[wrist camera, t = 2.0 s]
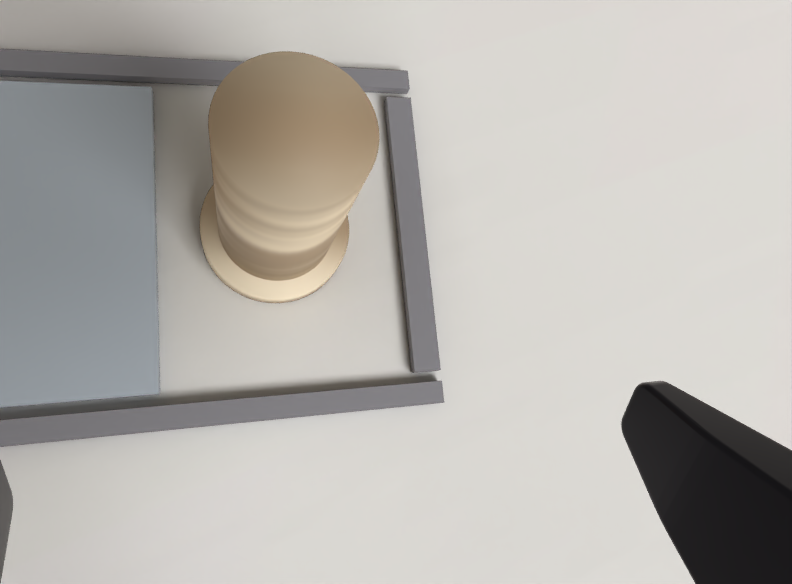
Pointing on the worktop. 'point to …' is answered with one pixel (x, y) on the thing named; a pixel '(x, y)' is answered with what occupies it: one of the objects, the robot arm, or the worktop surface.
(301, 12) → the worktop surface
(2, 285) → the game track
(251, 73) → the birch pawn
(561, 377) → the worktop surface
